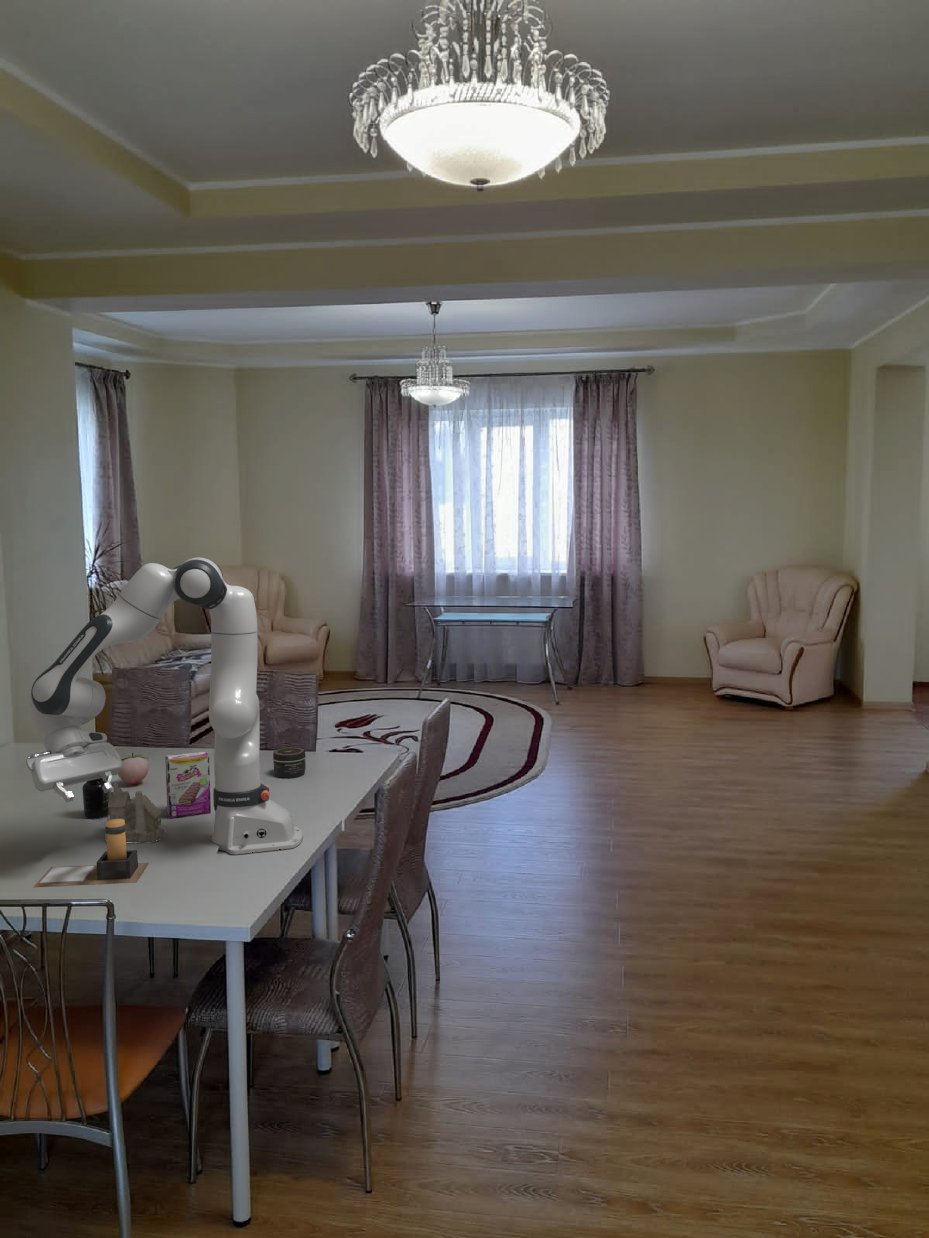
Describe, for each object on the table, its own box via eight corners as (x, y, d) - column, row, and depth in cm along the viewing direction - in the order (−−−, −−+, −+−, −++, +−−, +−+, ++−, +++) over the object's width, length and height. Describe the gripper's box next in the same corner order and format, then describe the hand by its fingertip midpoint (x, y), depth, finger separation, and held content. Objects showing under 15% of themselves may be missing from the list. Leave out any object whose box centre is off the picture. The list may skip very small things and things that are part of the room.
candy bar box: (169, 819, 262) (166, 759, 260) (167, 814, 266) (164, 755, 265) (212, 813, 267) (209, 754, 265) (208, 808, 271) (206, 750, 269)
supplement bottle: (104, 809, 271) (101, 767, 270) (115, 815, 266) (112, 772, 265) (79, 815, 266) (77, 772, 265) (90, 821, 262) (87, 777, 260)
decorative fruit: (124, 790, 289) (123, 757, 288) (114, 785, 295) (112, 753, 294) (155, 784, 295) (153, 752, 294) (144, 779, 301) (142, 747, 300)
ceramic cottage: (153, 844, 242) (149, 784, 241) (92, 844, 245) (88, 784, 244) (181, 828, 257) (178, 771, 257) (123, 827, 260) (120, 772, 259)
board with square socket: (149, 868, 226) (148, 845, 225) (137, 888, 214) (135, 864, 213) (51, 873, 224) (49, 850, 223) (33, 893, 212) (31, 869, 211)
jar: (311, 775, 303) (310, 751, 302) (281, 781, 297) (280, 756, 297) (297, 768, 311) (297, 745, 310) (268, 774, 306) (267, 750, 305)
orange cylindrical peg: (129, 869, 221) (126, 818, 220) (125, 876, 217) (122, 824, 216) (111, 870, 221) (108, 818, 220) (106, 877, 217) (103, 824, 216)
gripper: (26, 748, 221) (49, 798, 216) (111, 732, 236) (134, 778, 231) (19, 764, 225) (41, 813, 219) (103, 747, 240) (125, 793, 234)
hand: (89, 795), depth 225 cm, fingers open, 8 cm apart
